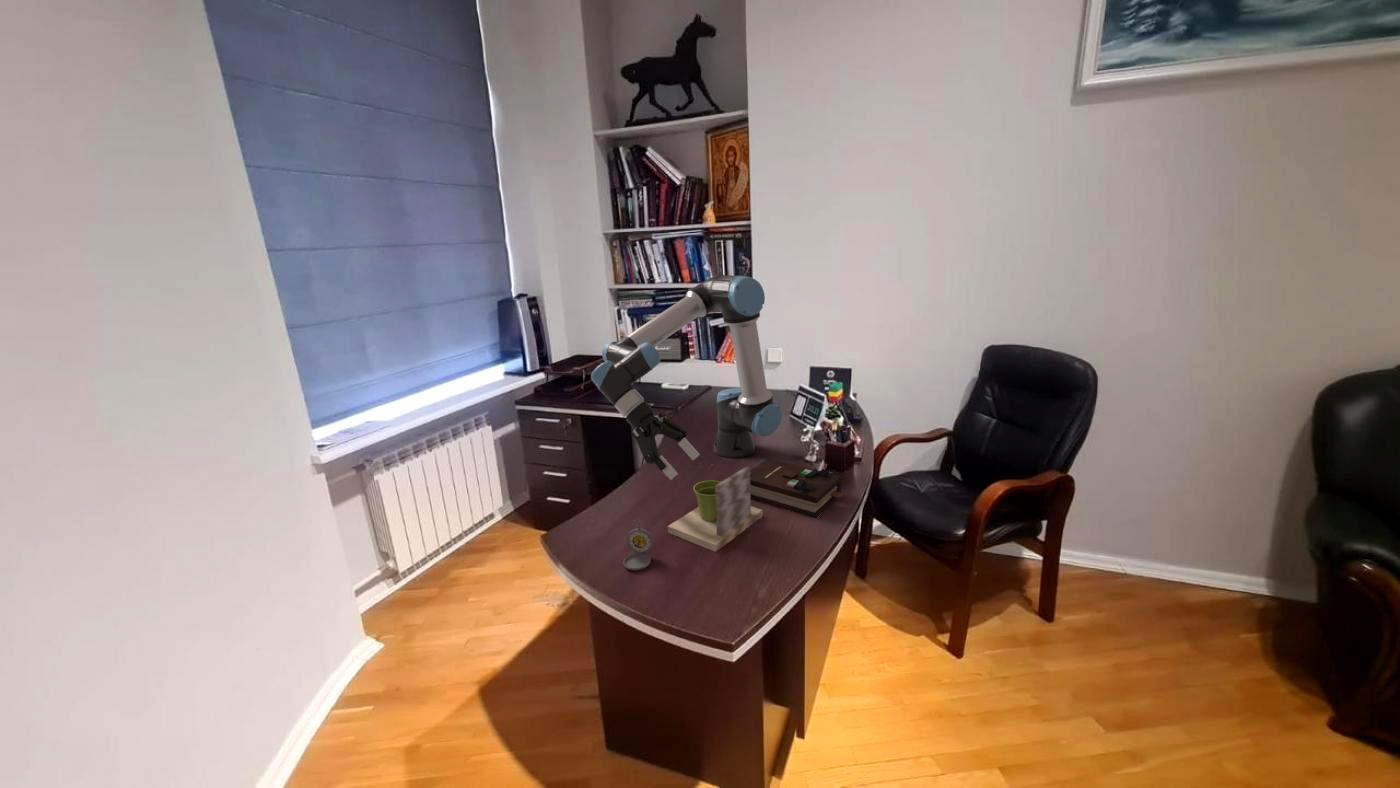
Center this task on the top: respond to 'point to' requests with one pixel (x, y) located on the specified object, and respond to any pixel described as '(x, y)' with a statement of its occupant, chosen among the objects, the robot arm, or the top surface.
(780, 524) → the top surface
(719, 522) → the shelf board
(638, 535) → the pocket watch
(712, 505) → the plant pot
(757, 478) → the decorative book
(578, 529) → the top surface
